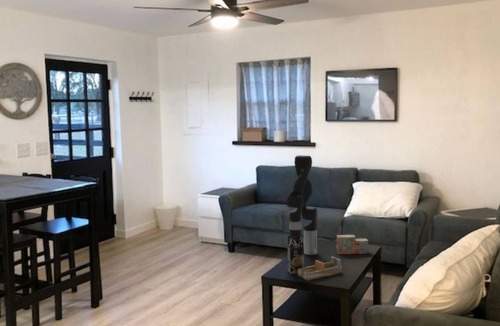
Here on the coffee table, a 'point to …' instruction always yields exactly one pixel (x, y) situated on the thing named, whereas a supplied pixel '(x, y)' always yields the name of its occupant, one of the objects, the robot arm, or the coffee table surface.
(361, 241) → the stack of blocks
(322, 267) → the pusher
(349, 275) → the coffee table surface
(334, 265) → the wooden tray
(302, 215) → the robot arm
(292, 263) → the coffee box
